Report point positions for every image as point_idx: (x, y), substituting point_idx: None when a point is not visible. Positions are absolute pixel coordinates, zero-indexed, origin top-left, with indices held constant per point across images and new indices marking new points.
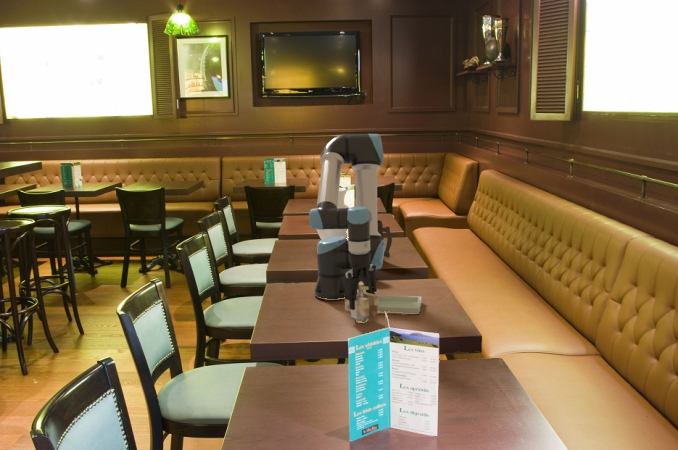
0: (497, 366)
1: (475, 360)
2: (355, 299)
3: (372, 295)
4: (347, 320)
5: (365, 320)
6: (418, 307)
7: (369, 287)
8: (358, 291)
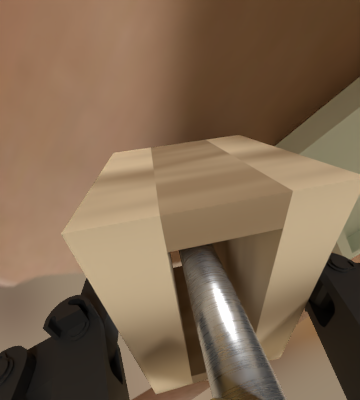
0: (200, 390)
1: (196, 382)
2: (118, 351)
3: None
4: (134, 142)
5: None
6: (350, 258)
7: (348, 395)
8: (211, 379)
